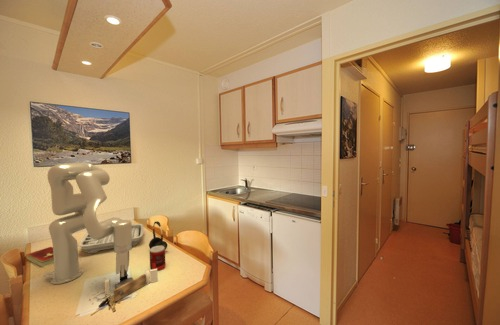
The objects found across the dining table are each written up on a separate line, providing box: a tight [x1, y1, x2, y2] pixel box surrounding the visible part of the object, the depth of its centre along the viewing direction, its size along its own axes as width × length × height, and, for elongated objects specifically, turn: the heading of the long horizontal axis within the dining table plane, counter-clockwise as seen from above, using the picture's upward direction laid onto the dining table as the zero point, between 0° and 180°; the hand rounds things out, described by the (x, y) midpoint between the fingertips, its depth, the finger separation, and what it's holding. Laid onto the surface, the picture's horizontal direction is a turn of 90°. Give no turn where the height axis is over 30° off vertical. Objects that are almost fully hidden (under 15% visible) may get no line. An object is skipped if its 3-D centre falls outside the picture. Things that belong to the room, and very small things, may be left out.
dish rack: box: [77, 223, 144, 254], centre depth 150 cm, size 32×37×8 cm
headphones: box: [148, 221, 168, 251], centre depth 136 cm, size 9×15×20 cm, turn 44°
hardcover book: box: [26, 246, 54, 268], centre depth 129 cm, size 12×21×4 cm, turn 64°
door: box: [113, 273, 147, 302], centre depth 96 cm, size 14×2×5 cm, turn 148°
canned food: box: [149, 246, 166, 272], centre depth 117 cm, size 8×8×11 cm
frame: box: [104, 269, 159, 296], centre depth 101 cm, size 22×2×6 cm, turn 116°
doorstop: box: [114, 276, 135, 290], centre depth 98 cm, size 7×5×4 cm
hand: (123, 283), depth 102 cm, fingers closed
